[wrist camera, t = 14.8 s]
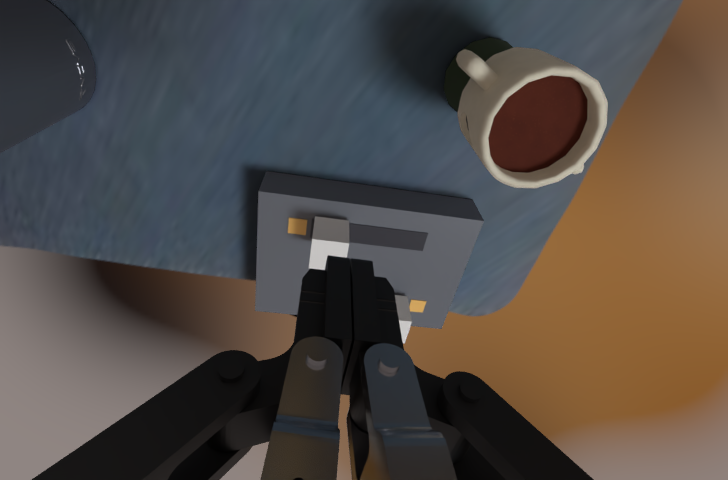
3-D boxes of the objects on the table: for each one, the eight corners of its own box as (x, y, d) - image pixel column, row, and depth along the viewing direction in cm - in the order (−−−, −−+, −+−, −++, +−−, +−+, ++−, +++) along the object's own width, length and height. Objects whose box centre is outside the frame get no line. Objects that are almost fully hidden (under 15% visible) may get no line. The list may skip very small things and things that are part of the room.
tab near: (311, 244, 37) (308, 268, 34) (315, 216, 35) (312, 238, 32) (344, 248, 37) (344, 272, 34) (349, 220, 35) (349, 243, 32)
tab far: (372, 314, 42) (374, 340, 39) (378, 293, 40) (380, 318, 37) (400, 317, 42) (404, 343, 39) (407, 296, 41) (411, 321, 38)
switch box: (262, 285, 45) (255, 311, 42) (266, 170, 37) (258, 191, 34) (434, 303, 47) (441, 329, 44) (472, 199, 40) (484, 221, 36)
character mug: (402, 70, 33) (429, 123, 22) (467, -10, 30) (534, 5, 19) (490, 149, 37) (549, 226, 26) (555, 86, 34) (652, 143, 23)
